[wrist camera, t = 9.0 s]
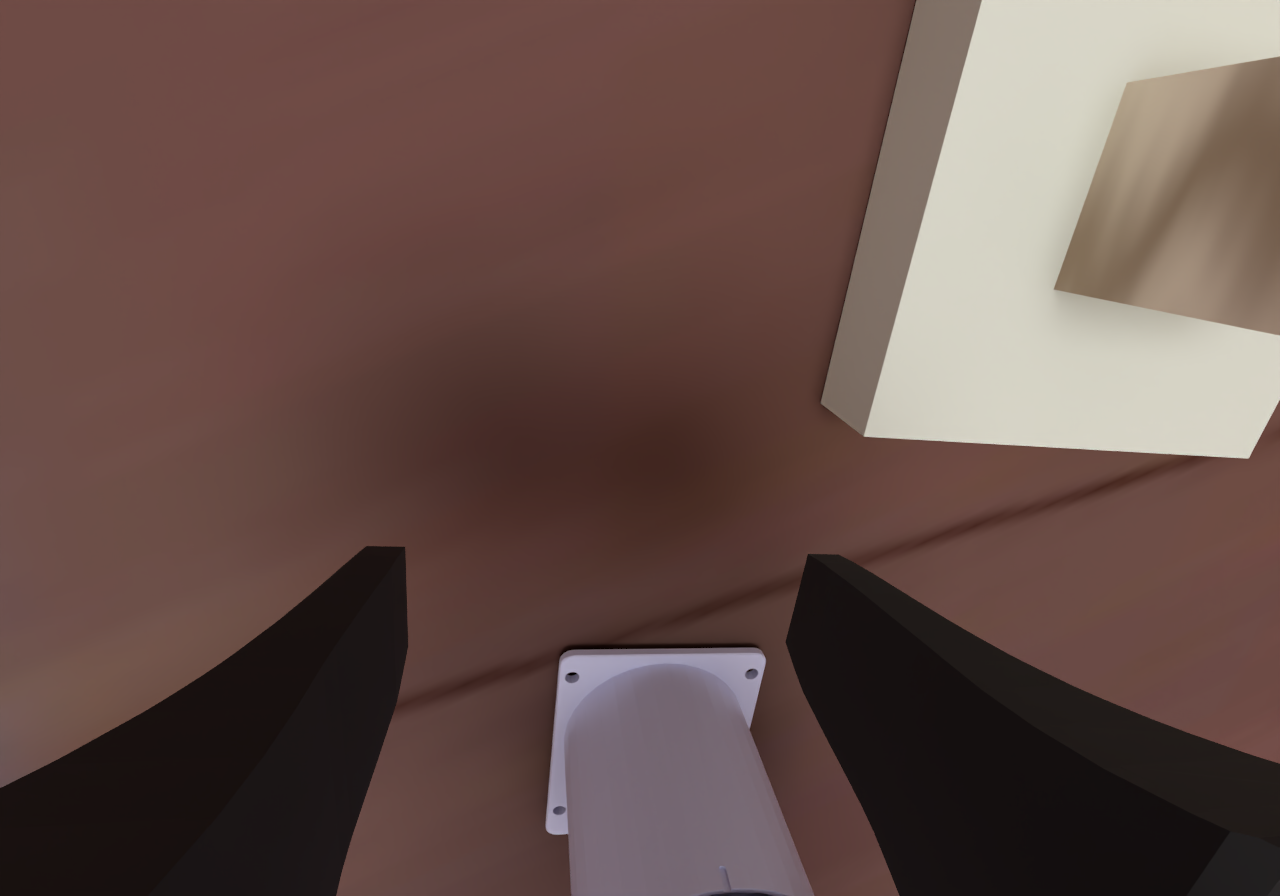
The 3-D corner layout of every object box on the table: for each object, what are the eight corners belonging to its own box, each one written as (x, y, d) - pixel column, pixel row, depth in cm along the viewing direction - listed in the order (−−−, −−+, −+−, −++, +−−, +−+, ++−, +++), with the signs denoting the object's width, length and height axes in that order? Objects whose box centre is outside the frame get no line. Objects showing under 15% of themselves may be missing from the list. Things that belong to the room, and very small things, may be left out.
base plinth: (1165, 426, 23) (1248, 458, 21) (820, 403, 21) (863, 436, 18) (1372, -21, 18) (1521, -58, 15) (946, -127, 15) (1034, -193, 13)
